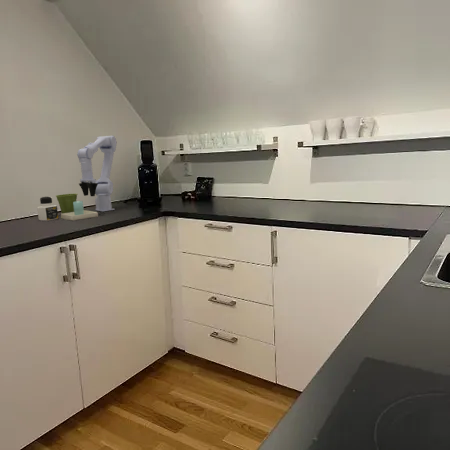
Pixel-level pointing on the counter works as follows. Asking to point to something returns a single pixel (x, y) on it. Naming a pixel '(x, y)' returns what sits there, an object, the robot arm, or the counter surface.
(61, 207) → the plant pot
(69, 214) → the cream tray
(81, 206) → the pale teal cylinder
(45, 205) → the medicine bottle
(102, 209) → the robot arm
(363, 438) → the counter surface
